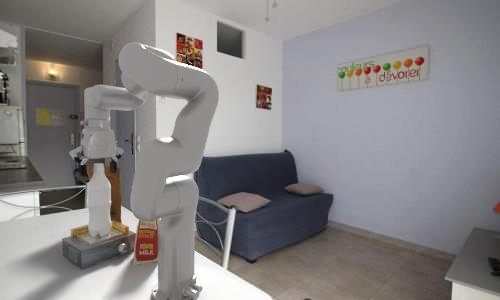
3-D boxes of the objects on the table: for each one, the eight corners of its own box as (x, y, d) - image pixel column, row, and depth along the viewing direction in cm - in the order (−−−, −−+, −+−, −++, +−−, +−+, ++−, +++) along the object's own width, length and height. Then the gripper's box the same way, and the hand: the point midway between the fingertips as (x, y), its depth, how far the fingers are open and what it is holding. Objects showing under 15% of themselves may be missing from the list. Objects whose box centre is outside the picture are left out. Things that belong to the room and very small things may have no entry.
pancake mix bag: (114, 236, 107) (113, 168, 105) (86, 227, 116) (84, 164, 114) (129, 230, 113) (128, 166, 111) (101, 222, 122) (99, 162, 120)
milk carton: (133, 264, 85) (132, 203, 84) (137, 251, 94) (137, 196, 93) (163, 261, 88) (162, 202, 86) (164, 249, 97) (164, 195, 95)
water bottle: (104, 238, 89) (103, 165, 87) (83, 238, 89) (81, 164, 87) (115, 230, 96) (114, 162, 94) (96, 230, 96) (94, 162, 94)
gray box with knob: (140, 251, 94) (140, 228, 94) (84, 273, 79) (84, 246, 79) (115, 238, 105) (114, 217, 104) (61, 255, 90) (60, 231, 89)
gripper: (73, 124, 81) (75, 179, 82) (128, 125, 95) (128, 172, 96) (64, 124, 85) (65, 176, 86) (117, 125, 99) (118, 170, 100)
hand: (98, 174), depth 91 cm, fingers open, 9 cm apart
